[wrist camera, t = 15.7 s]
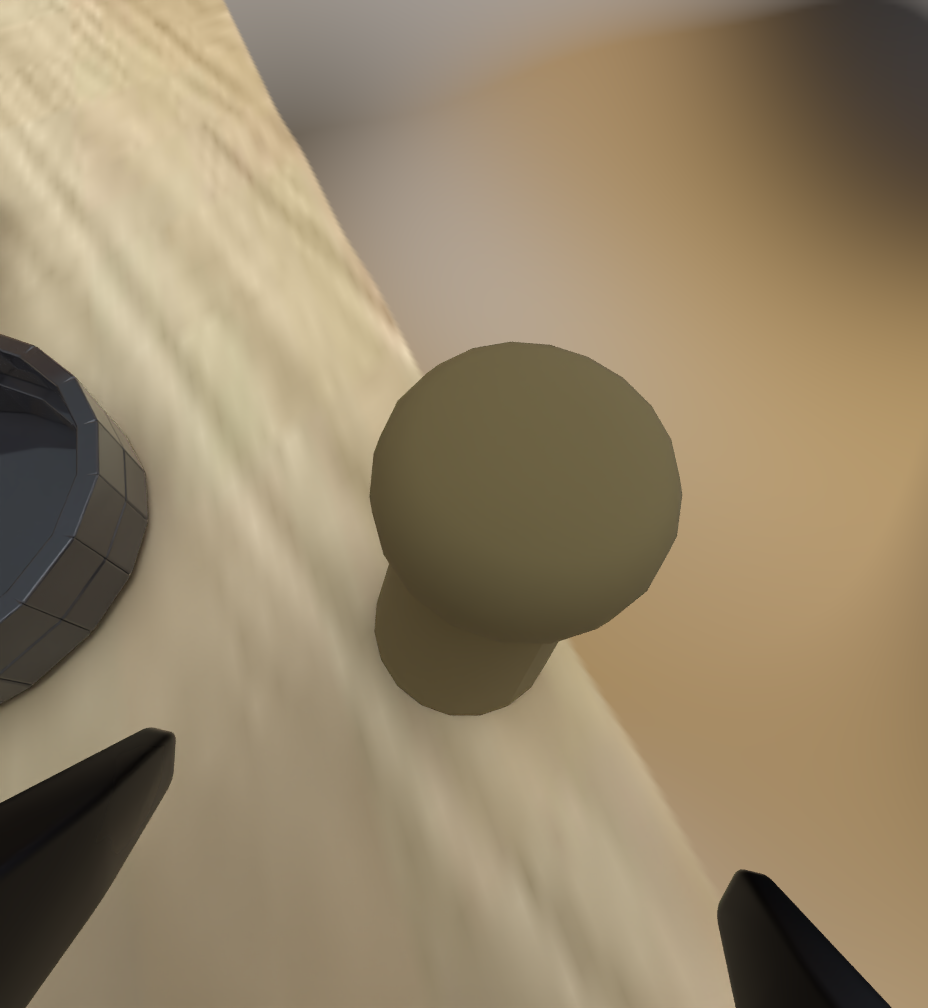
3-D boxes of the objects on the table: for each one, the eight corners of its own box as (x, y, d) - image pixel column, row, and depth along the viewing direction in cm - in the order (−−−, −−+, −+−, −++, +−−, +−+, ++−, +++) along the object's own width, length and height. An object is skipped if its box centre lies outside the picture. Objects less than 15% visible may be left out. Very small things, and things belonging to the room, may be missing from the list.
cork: (367, 546, 18) (322, 288, 8) (531, 529, 19) (669, 280, 9) (382, 731, 15) (342, 683, 5) (571, 700, 16) (827, 611, 6)
